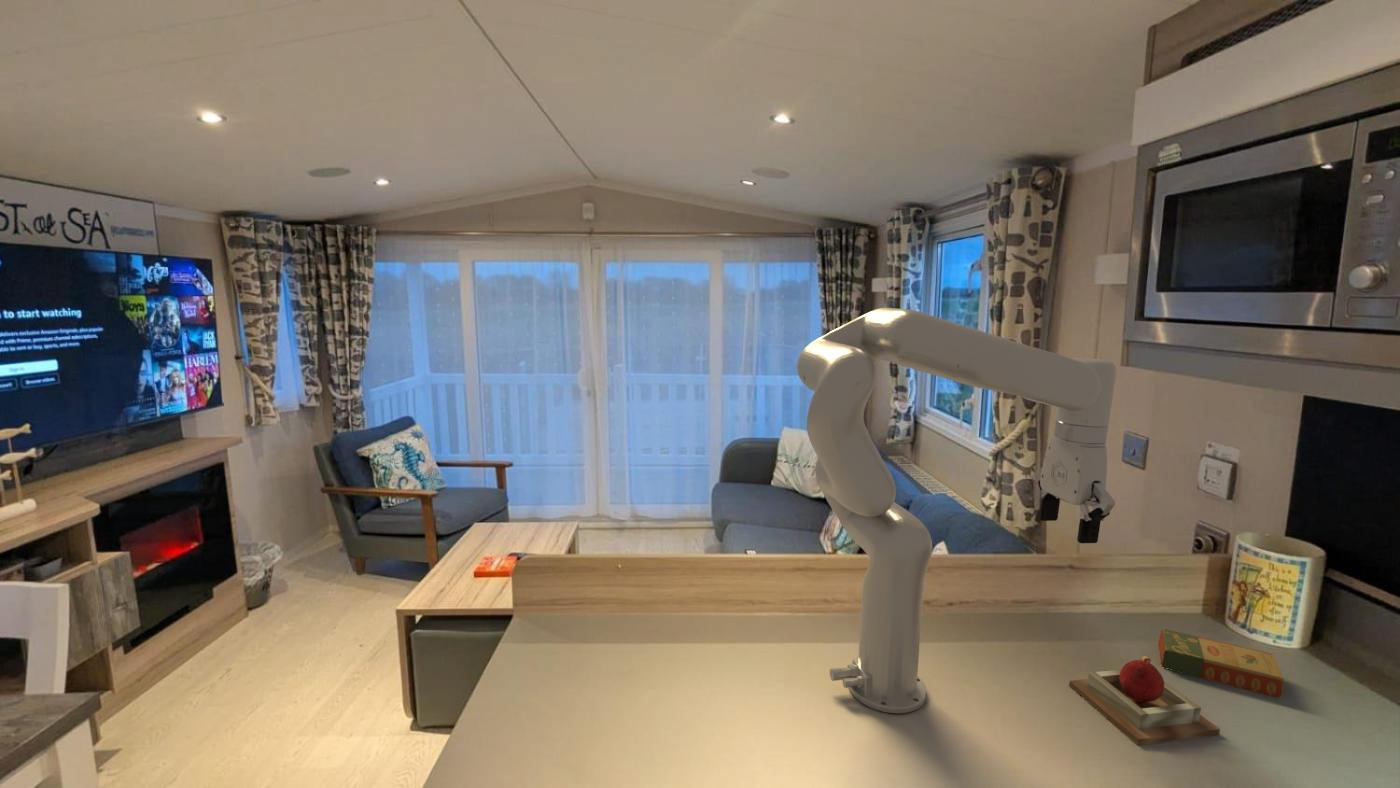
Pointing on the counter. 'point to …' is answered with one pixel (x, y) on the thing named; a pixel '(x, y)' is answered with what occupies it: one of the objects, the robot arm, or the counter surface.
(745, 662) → the counter surface
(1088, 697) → the holder
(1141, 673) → the onion
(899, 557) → the robot arm
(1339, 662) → the counter surface
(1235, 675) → the carton
